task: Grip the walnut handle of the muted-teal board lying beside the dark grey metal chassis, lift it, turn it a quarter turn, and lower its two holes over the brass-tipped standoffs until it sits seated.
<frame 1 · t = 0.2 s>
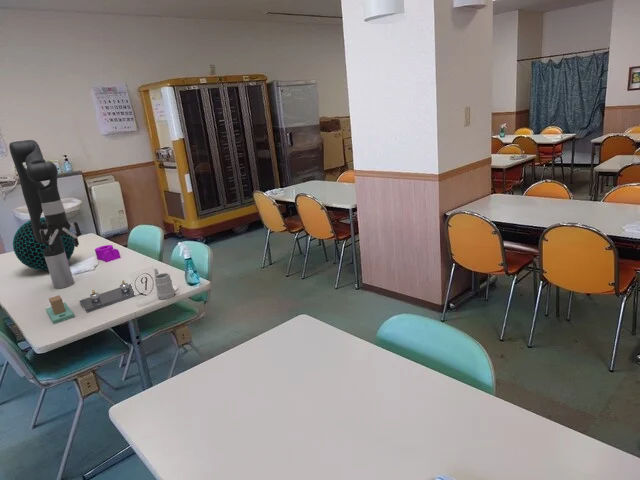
hand: (65, 249, 187), 28 cm above the table, tool pointing down, fingers open, 8 cm apart
mug: (164, 295, 202), on the table
decorative sphere: (52, 268, 260), on the table
chassis: (111, 298, 205), on the table
board: (60, 314, 194), on the table
tape dispenser: (108, 258, 268), on the table
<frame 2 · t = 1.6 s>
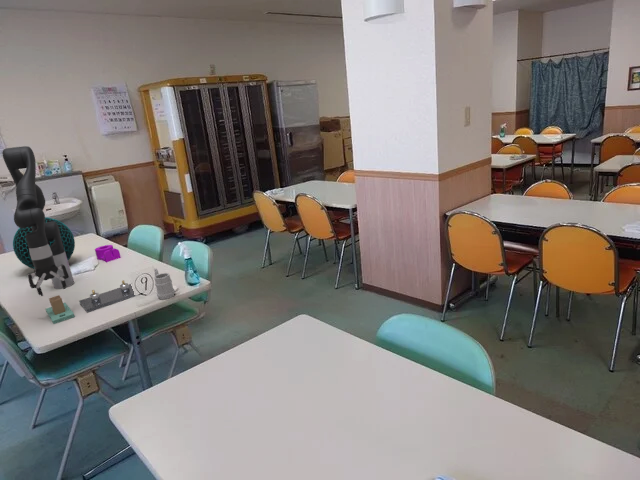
hand: (53, 292, 191), 11 cm above the table, tool pointing down, fingers open, 8 cm apart
nothing on the table moved.
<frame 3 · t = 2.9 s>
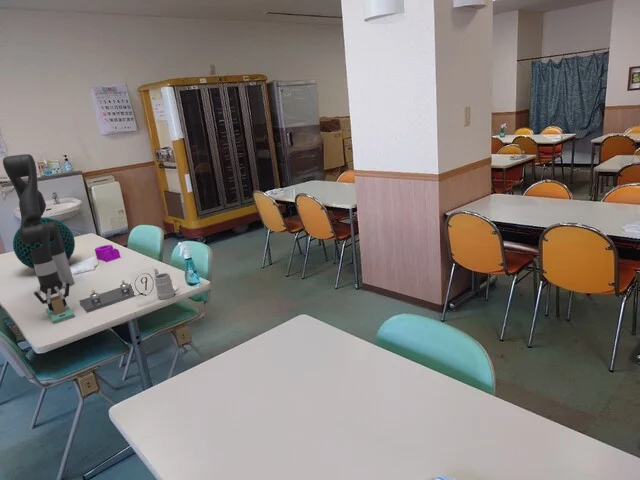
hand: (58, 308, 193), 3 cm above the table, tool pointing down, fingers closed on board, 4 cm apart
board: (60, 314, 194), on the table, touching gripper
everything else where it was.
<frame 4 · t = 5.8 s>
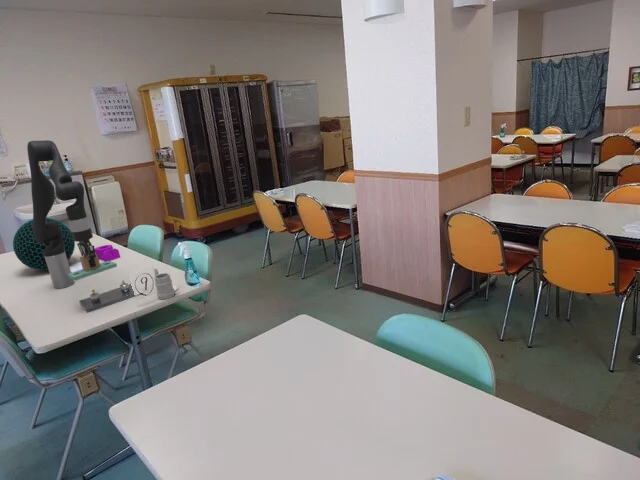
hand: (91, 265, 197), 17 cm above the table, tool pointing down, fingers closed on board, 4 cm apart
board: (92, 271, 198), point 15 cm above the table, touching gripper
everything else where it was.
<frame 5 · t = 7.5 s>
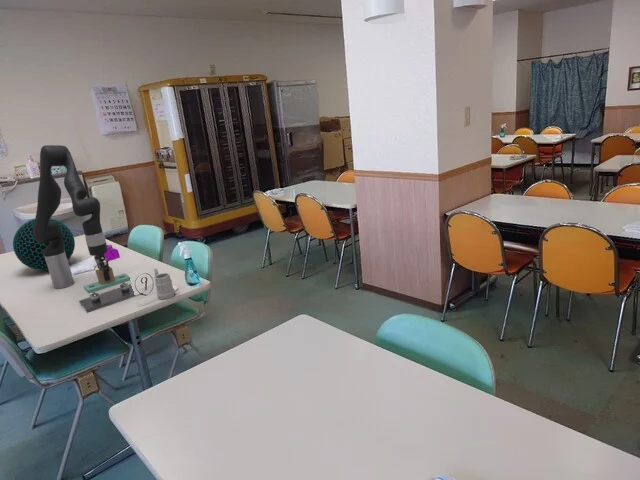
hand: (106, 279, 202), 10 cm above the table, tool pointing down, fingers closed on board, 4 cm apart
board: (107, 284, 203), point 7 cm above the table, touching gripper
when the fingers open (7 cm above the table, at t = 8.7 s): board stays where it is, resting on chassis.
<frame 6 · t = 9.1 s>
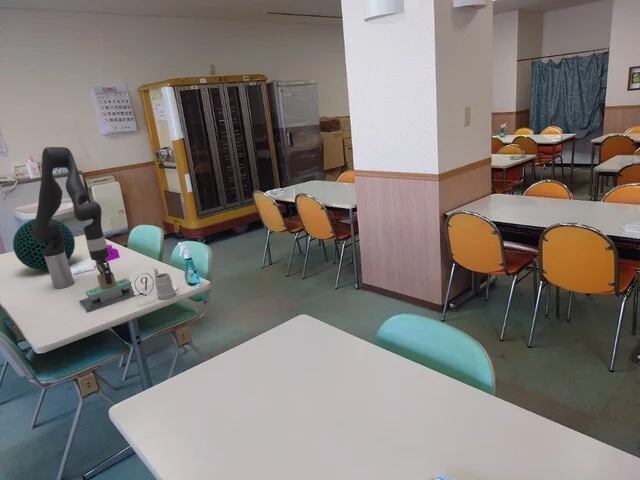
hand: (107, 281, 202), 8 cm above the table, tool pointing down, fingers open, 8 cm apart
board: (109, 289, 203), point 4 cm above the table, touching chassis
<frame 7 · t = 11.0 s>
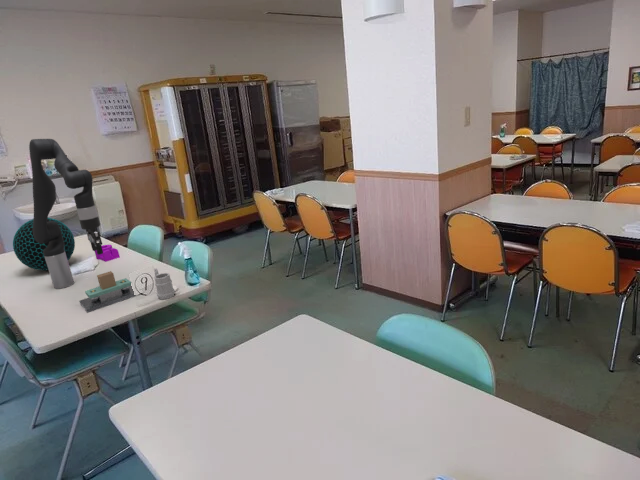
hand: (97, 252, 199), 22 cm above the table, tool pointing down, fingers open, 8 cm apart
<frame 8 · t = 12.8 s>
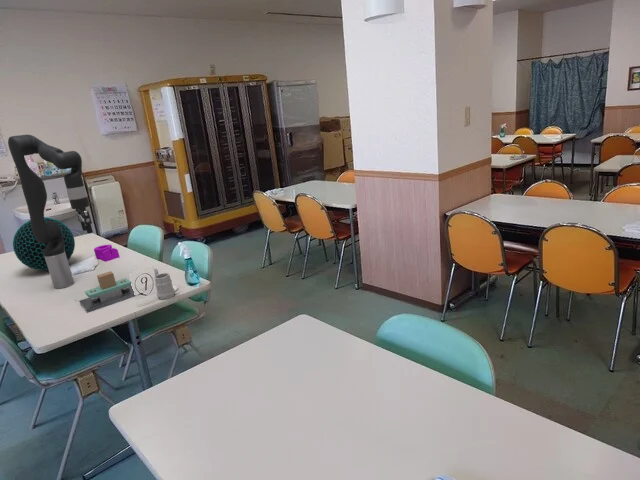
hand: (87, 231, 205), 30 cm above the table, tool pointing down, fingers open, 8 cm apart
at the end: board 0.1 cm off-centre on the chassis, point 4.5 cm above the chassis's base; board tilted 0°; the gripper is holding nothing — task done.
